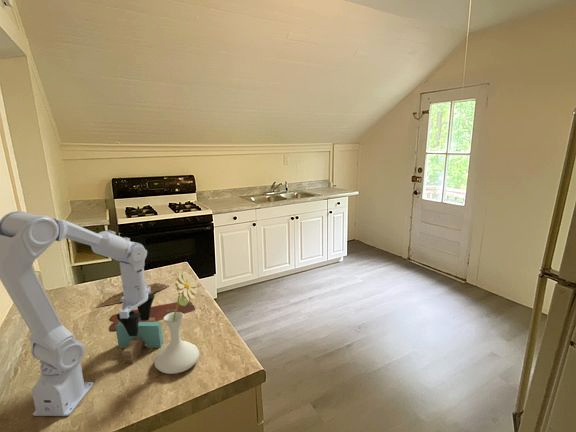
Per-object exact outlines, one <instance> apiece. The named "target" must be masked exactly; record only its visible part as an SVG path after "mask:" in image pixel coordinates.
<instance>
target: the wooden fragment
mask: <svg viewBox="0 0 576 432" xmlns="http://www.w3.org/2000/svg"><path fill="white" fill-rule="evenodd" d="M147 286H150V290H151V292H150V293H149V294H153V295H155V294H156V293H157V292H160V291H162V290H163V289H165V288H167V287H170V285H169V284H164V283H160V282H154V283H151V284H149V285H147ZM122 297H124V293H123V291H121V292H119V293H116V294H113V295H111V296H110V297H108V298H107V299H105V300H104V301H103V302H100V303H99V304H97V305H96V308H100V307H104V306H105V307H106V306H109V305H114V304H119V303H122V302H121V301H120V299H121V298H122Z"/></svg>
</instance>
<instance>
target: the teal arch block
mask: <svg viewBox="0 0 576 432" xmlns="http://www.w3.org/2000/svg"><path fill="white" fill-rule="evenodd" d="M115 332H116V337H117V344H118V348H121V349H122V348H124V349H125V348H126V347H127V345H128V344H129V343H130V341H131V340H132V339H133V337H141V341H146V345H145V346H146V348H149V349H150V348H155V349H156V348H159V349H160V348H161V347H162V346H163V344H164V338H163V327H162V322H161V321H155V322H138V334H137V336H129V335H128V333H127V331H126V329H125V327H124V325H123V324H122V323H121V322H119V323H118V324H117V325H116V331H115ZM161 349H162V348H161Z"/></svg>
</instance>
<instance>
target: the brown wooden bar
mask: <svg viewBox="0 0 576 432" xmlns="http://www.w3.org/2000/svg"><path fill="white" fill-rule="evenodd" d="M146 322H156V321H155V318H149V320H146ZM145 346H146V341H141V337H133V339H132V340H131V341H130V343H129V344H128V345H127V347H126V348H124V349H123V350H122V355H123V362H124V365H133V364H134V363H135V361H136V360H137V358H138V357H139V355H140V353H141V352H142V351H143V349H144V348H145Z"/></svg>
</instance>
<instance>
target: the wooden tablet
mask: <svg viewBox="0 0 576 432" xmlns="http://www.w3.org/2000/svg"><path fill="white" fill-rule="evenodd" d="M176 305H177V301H175V302H174V301H173V302H170V303H163V304H157V305H153V306H152V305H151V310H150V317H149V318H155V322H159V321H161V320H163V318H164V316H166V315H167V314H169V313H172V312H175V311H168V312H167V309H169V310H172V309H176ZM177 309H178V310H176V312H181V313H183V314H184V315H185V314H187V313H191V312H192V311H195V310H196V306H195V305H194V304H193V303H192V301H191V300H190V301H189V302H188V304H187V305H186V306H182V305H180V304H179V302H178V306H177ZM133 312H134V313H139V311H138V308H135V309H134V310H133ZM118 314H119V312H118V313H116V314H113V315H111V316H110V321H111V322H112V323H111V324H110V326H109V329H108V330H109V331H110V332H116V325H117V324H118V323H119V322H120V321H119V320H118V319H117V315H118ZM138 322H146V320H141V318H140V317H139V321H138Z"/></svg>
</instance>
